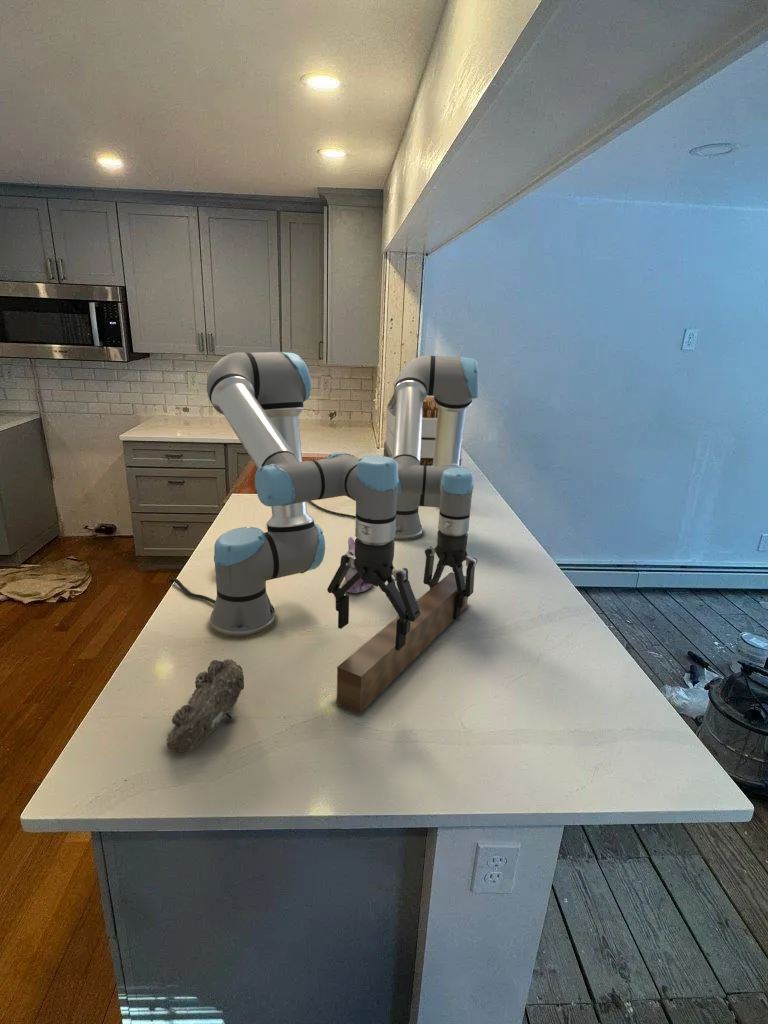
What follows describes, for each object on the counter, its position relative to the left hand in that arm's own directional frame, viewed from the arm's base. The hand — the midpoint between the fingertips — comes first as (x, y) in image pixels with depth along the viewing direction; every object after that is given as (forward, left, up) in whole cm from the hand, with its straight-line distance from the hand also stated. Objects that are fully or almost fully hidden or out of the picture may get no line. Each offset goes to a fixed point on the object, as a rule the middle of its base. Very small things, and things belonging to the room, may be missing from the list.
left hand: (370, 636), depth 114 cm
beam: (-2, +18, -13) cm, 22 cm away
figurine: (-31, +33, -13) cm, 47 cm away
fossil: (-17, -26, -13) cm, 34 cm away
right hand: (-4, +37, -12) cm, 39 cm away
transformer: (-85, +144, -13) cm, 168 cm away
